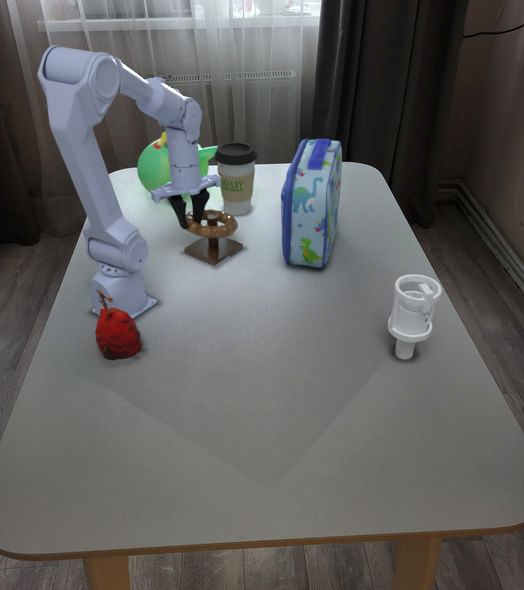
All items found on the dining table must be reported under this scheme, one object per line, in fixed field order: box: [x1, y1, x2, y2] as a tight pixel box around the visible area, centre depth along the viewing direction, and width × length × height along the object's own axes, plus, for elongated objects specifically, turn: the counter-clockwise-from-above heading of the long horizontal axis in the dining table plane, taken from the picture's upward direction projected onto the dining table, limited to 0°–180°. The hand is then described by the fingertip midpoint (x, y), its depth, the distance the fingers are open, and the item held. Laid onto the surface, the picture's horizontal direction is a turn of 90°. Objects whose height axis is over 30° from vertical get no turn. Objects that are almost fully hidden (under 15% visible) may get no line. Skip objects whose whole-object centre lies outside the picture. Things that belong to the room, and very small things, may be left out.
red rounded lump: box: [94, 287, 142, 361], centre depth 91 cm, size 8×7×15 cm
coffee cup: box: [213, 140, 258, 216], centre depth 130 cm, size 10×10×15 cm
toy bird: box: [136, 131, 219, 198], centre depth 136 cm, size 18×17×15 cm
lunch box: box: [280, 138, 343, 269], centre depth 116 cm, size 26×11×21 cm, turn 168°
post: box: [184, 214, 244, 267], centre depth 118 cm, size 9×9×8 cm
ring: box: [185, 208, 239, 238], centre depth 118 cm, size 12×12×2 cm
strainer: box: [387, 273, 442, 360], centre depth 91 cm, size 7×7×15 cm
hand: (190, 225), depth 116 cm, fingers closed on ring, 3 cm apart
